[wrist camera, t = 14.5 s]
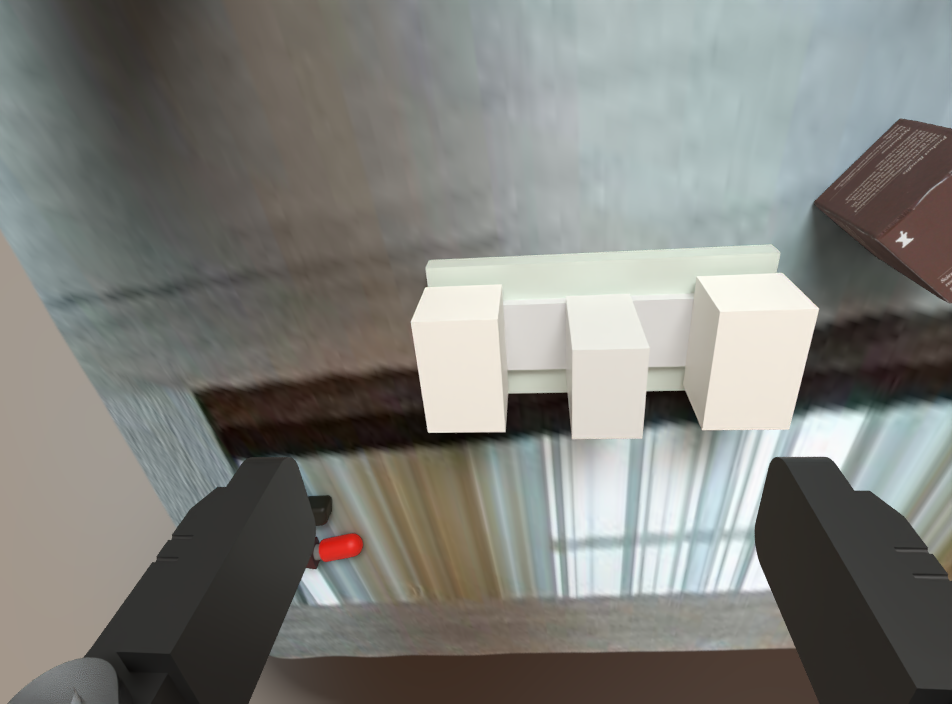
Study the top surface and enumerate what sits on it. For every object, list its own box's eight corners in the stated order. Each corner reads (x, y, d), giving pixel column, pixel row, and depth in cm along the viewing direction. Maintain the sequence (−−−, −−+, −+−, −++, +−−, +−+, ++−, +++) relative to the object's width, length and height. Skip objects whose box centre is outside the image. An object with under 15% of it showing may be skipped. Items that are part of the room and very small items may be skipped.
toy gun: (272, 568, 56) (251, 611, 52) (260, 481, 50) (235, 522, 46) (366, 581, 56) (352, 626, 52) (365, 496, 50) (350, 538, 46)
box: (873, 258, 35) (948, 308, 29) (808, 201, 34) (872, 241, 27) (968, 178, 32) (1074, 214, 26) (901, 113, 31) (996, 134, 24)
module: (566, 378, 39) (571, 443, 33) (565, 296, 36) (572, 350, 30) (624, 377, 38) (641, 442, 32) (629, 293, 35) (649, 348, 29)
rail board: (445, 383, 43) (430, 444, 36) (429, 260, 38) (408, 306, 31) (746, 377, 40) (785, 442, 34) (771, 244, 35) (823, 291, 29)
